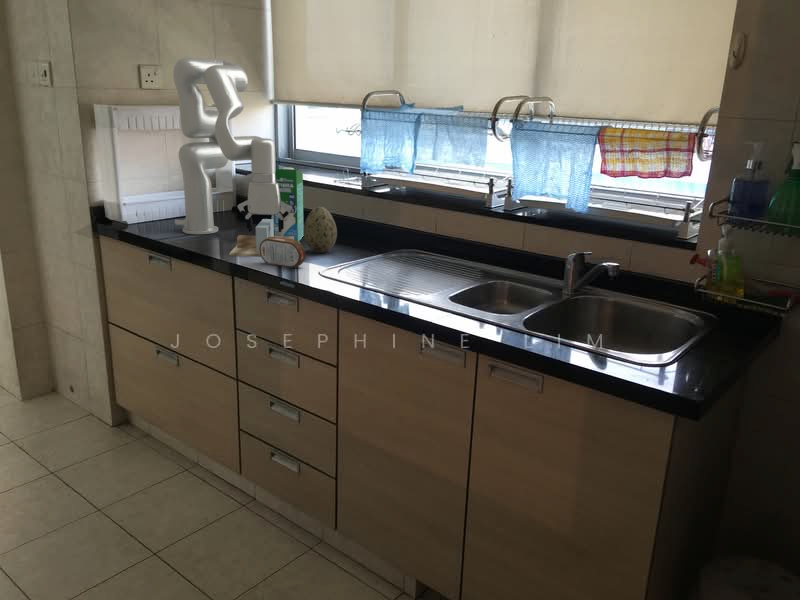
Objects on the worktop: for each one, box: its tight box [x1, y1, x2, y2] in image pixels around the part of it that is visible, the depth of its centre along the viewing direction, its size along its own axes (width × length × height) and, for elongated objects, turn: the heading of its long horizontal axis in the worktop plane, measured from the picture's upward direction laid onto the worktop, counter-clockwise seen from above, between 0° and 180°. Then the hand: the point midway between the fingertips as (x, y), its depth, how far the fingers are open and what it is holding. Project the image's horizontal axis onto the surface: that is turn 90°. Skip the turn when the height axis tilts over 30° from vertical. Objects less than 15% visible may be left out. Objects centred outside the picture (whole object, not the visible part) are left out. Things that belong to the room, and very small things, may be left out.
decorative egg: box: [303, 205, 338, 254], centre depth 221 cm, size 11×11×15 cm
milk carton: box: [271, 166, 304, 242], centre depth 237 cm, size 9×9×25 cm
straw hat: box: [229, 234, 301, 257], centre depth 224 cm, size 20×18×4 cm
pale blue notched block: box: [255, 218, 274, 252], centre depth 223 cm, size 14×4×8 cm, turn 2°
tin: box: [259, 237, 306, 269], centre depth 205 cm, size 15×3×8 cm, turn 65°
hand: (265, 231), depth 223 cm, fingers open, 9 cm apart
